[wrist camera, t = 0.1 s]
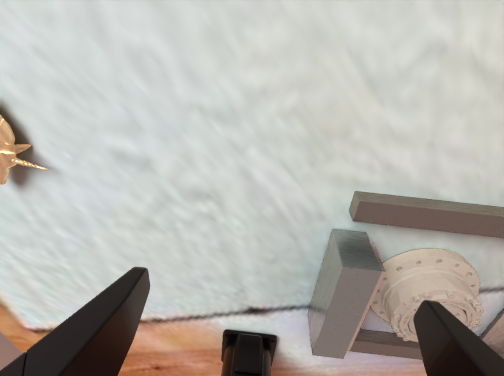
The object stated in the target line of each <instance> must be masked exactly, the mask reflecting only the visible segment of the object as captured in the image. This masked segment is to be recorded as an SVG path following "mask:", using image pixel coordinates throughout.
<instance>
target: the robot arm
mask: <svg viewBox="0 0 504 376" xmlns="http://www.w3.org/2000/svg"><path fill="white" fill-rule="evenodd" d="M149 290H150V281H149V273H148V269H147V268H144V267H134V268H132V269H131V270H129V271H128V272H127V273H125V274H124V275H123V276H122V277H120V278H119V279H118V280H116V281H115V282H114V283H113V284H111V285H110V286H109V287H108V288H106V289H105V290H104V291H102V292H101V293H100V294H99V295H97V296H96V297H95V298H93V299H92V300H91V301H90V302H88V303H87V304H86V305H84V306H83V307H82V308H81V309H79V310H78V311H77V312H75V313H74V314H73V315H72V316H70V317H69V318H68V319H66V320H65V321H64V322H63V323H61V324H60V325H59V326H57V327H56V328H55V329H54V330H52V331H51V332H50V333H48V334H47V335H46V336H45V337H43V338H42V339H41V340H39V341H38V342H37V343H36V344H34V345H33V346H32V347H30V348H29V349H28V350H27V353H26V352H24V353H23V354H21V355H20V356H19V357H18V358H16V359H15V360H14V361H12V362H11V363H10V364H8V365H7V366H6V367H4V368H3V369H2V370H1V371H0V376H117V375H118V373H119V371H120V369H121V367H122V364H123V362H124V360H125V358H126V355H127V353H128V351H129V349H130V346H131V344H132V342H133V339H134V336H135V334H136V331H137V328H138V325H139V322H140V318H141V315H142V312H143V309H144V306H145V303H146V300H147V297H148V294H149ZM413 322H414V326H415V330H416V335H417V339H418V343H419V347H420V351H421V355H422V359H423V363H424V366H425V370H426V373H427V376H504V359H503V358H502V357H501V356H500V355H499V354H498V353H496V352H495V351H494V350H493V349H492V348H491V347H490V346H488V345H487V344H486V343H485V342H484V341H483V340H482V339H480V338H479V337H478V336H477V335H476V334H475V333H474V332H472V331H471V330H470V329H469V328H468V327H467V326H466V325H464V324H463V323H462V322H461V321H460V320H459V319H458V318H456V317H455V316H454V315H453V314H452V313H451V312H450V311H448V310H447V309H446V308H445V307H444V306H443V305H442V304H440V303H439V302H437V301H432V300H424V301H422V302H421V304H420V306H419V308H418V309H417V311H416V313H415V314H414V318H413ZM276 343H277V337H276V336H274V335H266V334H257V333H249V332H240V331H232V330H225V331H224V332H223V342H222V359H221V361H222V362H223V367H222V374H221V376H271V366H272V361H273V357H274V352H275V348H276Z"/></svg>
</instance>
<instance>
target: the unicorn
mask: <svg viewBox="0 0 504 376" xmlns="http://www.w3.org/2000/svg"><path fill="white" fill-rule="evenodd" d="M14 143H15V136H14V133H13V131H12V129H11V126H10V125H9V123H8V122H6V121H5V119H4V118H3V117H2V116H1V115H0V185H3V184H5V183H6V180H7V177H8V175H9V172H10V168H11V167H14V166H15V165H16V164H21V165H22V166H30V167H34V168H39V169H43V170H48V169H46V168H44V167H41V166H37V165H33V164H32V163H30V162H26V161H25V160H21V159H18V158H17V156H16V154H18V153H20V152H22V151H24V150H26V149H28V148H29V147H30V146H31V145H29V144H14Z"/></svg>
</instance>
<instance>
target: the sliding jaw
mask: <svg viewBox="0 0 504 376" xmlns="http://www.w3.org/2000/svg"><path fill="white" fill-rule="evenodd" d="M385 273H386V271H385V269H384V266H383V264H382V262H381V260H380V257H379V255H378V253H377V250H376V248H375V246H374V244H373V243H370V241H369V239H368V237H367V234H366V233H365V232H356V231H347V230H338V229H332V232H331V236H330V239H329V242H328V246H327V249H326V253H325V256H324V259H323V263H322V266H321V270H320V273H319V276H318V280H317V283H316V287H315V290H314V294H313V297H312V300H311V304H310V307H309V311H308V321H309V330H310V339H311V348H312V355H316V356H324V357H333V358H341V359H343V358H344V356H345V353H346V351H350V349H351V347H352V345H353V343H354V340H355V338H356V336H357V334H358V332H359V330H360V327H361V325H362V323H363V321H364V319H365V317H366V314H367V312H368V310H369V308H370V306H371V303H372V301H373V299H374V297H375V295H376V293H377V290H378V288H379V286H380V284H381V282H382V280H383V277H384V275H385Z"/></svg>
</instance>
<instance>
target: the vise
mask: <svg viewBox="0 0 504 376" xmlns="http://www.w3.org/2000/svg"><path fill="white" fill-rule="evenodd" d="M349 212H350V215H351V218H352V220H353V221H356V222H365V223H374V224H383V225H392V226H401V227H410V228H419V229H428V230H437V231H446V232H455V233H464V234H473V235H482V236H491V237H500V238H504V207H496V206H486V205H477V204H468V203H459V202H450V201H441V200H432V199H422V198H413V197H404V196H395V195H386V194H377V193H368V192H358V191H355V193H354V196H353V199H352V202H351V206H350V209H349ZM480 339H482V340H483V341H484V342H485V343H486V344H487V345H488V346H490V347H491V348H492V349H493V350H494V351H495V352H496V353H498V354H499V355H500V356H501V357H502V358H503V359H504V309H503V310H502V311H501V312H500V314H499V315H498V316H497V317H496V318H495V320H494V321H493V322H492V323H491V324H490V326H489V327H488V328H487V329H486V330H485V332H484V333H483V334H482V335H481V336H480ZM310 342H311V339H310ZM350 351H353V352H361V353H370V354H378V355H387V356H395V357H404V358H412V359H421V360H423V359H422V355H421V351H420V347H419V343H418V342H415V341H411V340H409V341H404V340H403V337H398V336H397V334H396V333H387V332H378V331H370V330H361V329H360V330H359V332H358V334H357V336H356V338H355V340H354V343H353V345H352V347H351V349H350Z"/></svg>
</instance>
